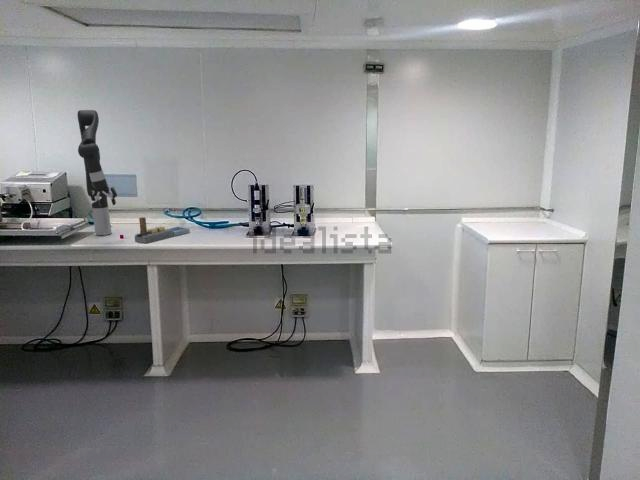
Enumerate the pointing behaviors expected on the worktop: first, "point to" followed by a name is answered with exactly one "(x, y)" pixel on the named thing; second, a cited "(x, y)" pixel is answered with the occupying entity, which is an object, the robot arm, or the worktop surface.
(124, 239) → the worktop surface
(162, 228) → the chip
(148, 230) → the chip
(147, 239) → the slotted plate
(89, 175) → the robot arm
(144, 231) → the scraper
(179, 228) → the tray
